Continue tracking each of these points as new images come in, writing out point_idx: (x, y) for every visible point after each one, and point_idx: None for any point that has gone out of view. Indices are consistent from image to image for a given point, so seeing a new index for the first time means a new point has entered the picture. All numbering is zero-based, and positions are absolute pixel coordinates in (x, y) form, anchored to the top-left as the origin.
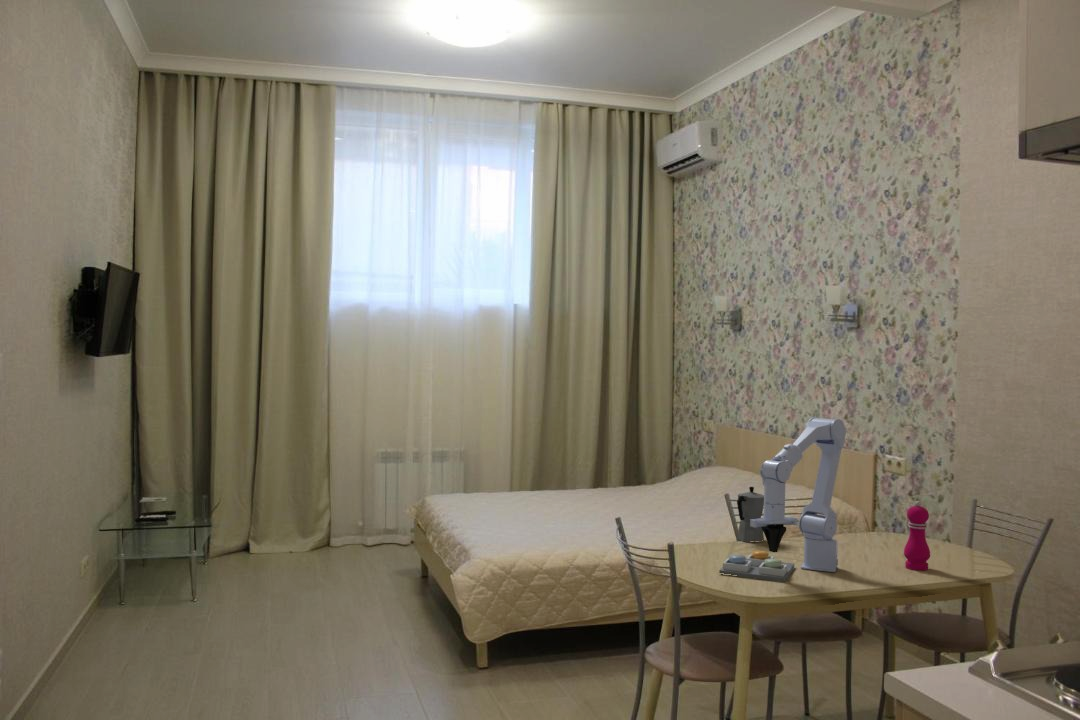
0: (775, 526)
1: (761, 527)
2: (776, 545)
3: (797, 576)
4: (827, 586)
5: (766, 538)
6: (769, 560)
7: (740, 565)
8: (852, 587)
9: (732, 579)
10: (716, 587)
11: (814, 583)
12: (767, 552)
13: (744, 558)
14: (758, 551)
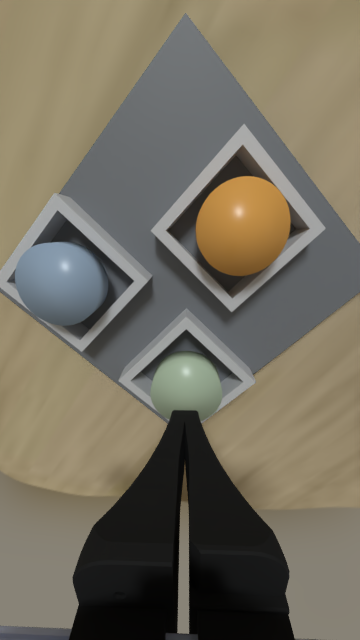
0: (196, 630)
1: (86, 541)
2: (186, 477)
3: (271, 379)
4: (267, 477)
5: (148, 463)
6: (170, 390)
7: (60, 333)
8: (322, 498)
9: (31, 351)
10: None
11: (256, 449)
12: (279, 246)
13: (82, 320)
14: (246, 205)
